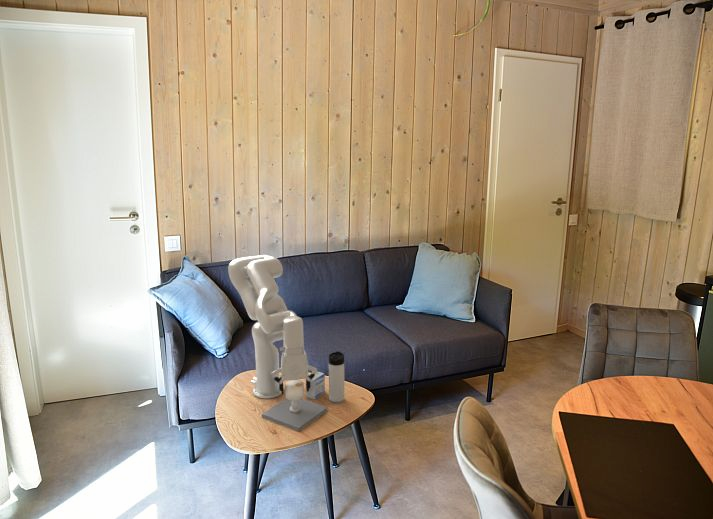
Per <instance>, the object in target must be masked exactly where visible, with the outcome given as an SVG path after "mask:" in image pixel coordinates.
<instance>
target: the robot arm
mask: <svg viewBox="0 0 713 519" xmlns="http://www.w3.org/2000/svg"><path fill="white" fill-rule="evenodd" d="M283 270H284V269H283V265H282V262H281V261H280V259H278V258H277V257H275V256H271V255H267V254H258V255H253V256H244V257H239V258H235V259H233V260H232V261H230V263H229V264H228V267H227V272H228V276H229V280H230V282H231V284H232V285H233V287H234V288H235V290H237V292H238V294H239V297H240V298H241V300H242V303H243V305H244V308H245V310H246V312H247V316H248V317H249V318H250V319H251V320H252V321H256V322H255V323H254V324H253V325H252V327H251V335H252V338H253V343H254V344H253V346H254V354H255V356H254V358H255V375H256V376H253V377H252V380H251V381H250V384H252V385H254V387H253V388H252V394H253V395H254V396H255V397H257V398H259V399H273V398H277V397H279V396H281V395H283V394H285V389H284V381H291V380H304V379H305V390H306V389H307V391H308V392H309V388H310V381H311V380H312V379H313V378H314V377H315V374H316V372H318V368H317V367H314V366H312V365H310V364H309V363H308V362H309V361H308V357H307V353H306V351H305V347H304V342H305V340H304V322H303V320H304V319H302V317H300V316H297V314H296V313H295V312H294V311H293V310H289V309H288V307H287V306H286V303H285V301H284V299H283V297H282V296H280V295H279V294H278V293H279V292H280V291H279V290H280V289H279V286H278V284H277V282H276V281H275V279H276V278H279V277H281V276H282V274H283V272H284V271H283ZM278 341H283V344H282V346H281V347H279V349H278V348H277V346H275V344H273V343H275V342H278ZM279 351H280V352H281V358H280V354H279ZM309 371H311V372H310V374H309Z"/></svg>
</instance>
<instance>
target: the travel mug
mask: <svg viewBox="0 0 713 519" xmlns="http://www.w3.org/2000/svg"><path fill="white" fill-rule="evenodd" d="M328 401H329V403H331V404H332V405H333V404H335V405H340V404H342V403H344V401H345V354H344V353H343V352H341V351H337V350H336V351H335V352H332V353H329V355H328Z"/></svg>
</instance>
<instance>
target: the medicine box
mask: <svg viewBox="0 0 713 519" xmlns="http://www.w3.org/2000/svg"><path fill="white" fill-rule="evenodd" d="M325 392H326V373H324V372H321V371H317V372H316V374H315V377H314V378H313V379H312V380H311V381H310V388H309V392H308V391H307V389H306V388H305V394H306V395H305V397H306V398H308V399H311V400H316V399H318V398H319V397H320V396H322V395H323V394H324V393H325Z"/></svg>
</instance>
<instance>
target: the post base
mask: <svg viewBox="0 0 713 519" xmlns="http://www.w3.org/2000/svg"><path fill="white" fill-rule="evenodd" d="M328 410H329V409H328V406H326V405H325V406H324V405H322V404H319V403H316V402H314V401H311V400H308V399H305V398H302V399H300V400H296V401H292V400H288V399H286V398H285V399H283V400H282V401H280V402H278V403H277V404H275V405H274V406H272V407H271V408H269V409H267V410H266V411H264V412H262V413H261V418H262V419H265V420H268V421H270V422H273V423H275V424H277V425H281V426H283V427H285V428H287V429H288V428H289V429H290V430H293V431H296V432H300V431H302V430H303V429H304V428H306V427H307V426H309V425H310V424H311V423H313V422H315V420H317V419H318V418H320V417H321V416H323V415H324V414H326V413H327V412H328Z"/></svg>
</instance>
